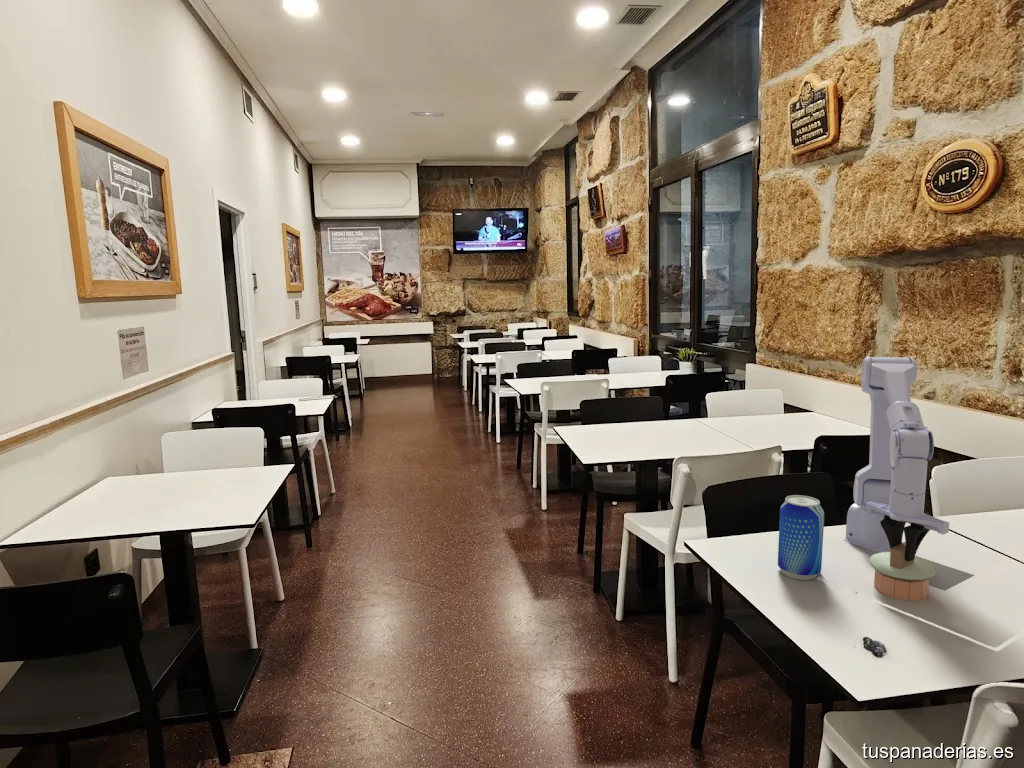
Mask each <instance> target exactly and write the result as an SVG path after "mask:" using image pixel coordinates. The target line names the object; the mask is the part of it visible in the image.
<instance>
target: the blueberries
mask: <svg viewBox="0 0 1024 768" xmlns="http://www.w3.org/2000/svg"><path fill="white" fill-rule="evenodd" d="M862 642H863V648H864V649H865V650H867V651H868V652H871V654H872V655H873V657H876V658H883V657H884V656H885V655H886V654H887V652H888V650H887V648H886V647H885V645H884V643H882V642H881V641H879V640H873V639H872V638H871V637H869V636H863V638H862ZM853 648H854V649H856V648H857V647H856V645H853Z"/></svg>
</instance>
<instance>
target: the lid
mask: <svg viewBox="0 0 1024 768" xmlns="http://www.w3.org/2000/svg"><path fill="white" fill-rule="evenodd" d="M905 547H906V542H905V541H902V543H901V544H899V545H897V546H895V547H892V548H891V551H889V552H881V551H880V552H881V553H880V552H877V553H874V554H872V555H871V556H870V557H869V564H870V566H871V567H872V568H873V569H874V571H875V570H877V571H879V572H881V573H883V574H886V575H888V576H892V577H895V578H900V579H907V580H925V579H929V578H931V577H933V576H934V575H935V567H934V566H933V565H932V564H931V563H930V562H928V561H926V560H924V559H925V558H924V559H922V558H923V557H921V556H918V557H917V555H915V558H914V560H911V561H906V560H905ZM920 557H921V558H920Z"/></svg>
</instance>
